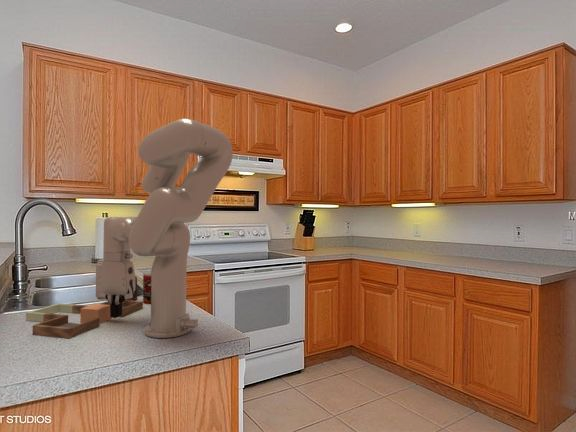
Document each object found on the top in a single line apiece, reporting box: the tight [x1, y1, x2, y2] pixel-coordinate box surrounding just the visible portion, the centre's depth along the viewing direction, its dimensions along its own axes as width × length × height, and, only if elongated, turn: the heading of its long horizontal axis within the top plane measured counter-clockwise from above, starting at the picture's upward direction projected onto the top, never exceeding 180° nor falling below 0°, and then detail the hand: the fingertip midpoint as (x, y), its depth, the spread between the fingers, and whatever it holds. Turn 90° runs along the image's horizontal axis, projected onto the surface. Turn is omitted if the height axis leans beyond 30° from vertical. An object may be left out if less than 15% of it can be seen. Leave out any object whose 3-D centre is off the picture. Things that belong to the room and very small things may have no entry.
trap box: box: [25, 300, 144, 339], centre depth 115 cm, size 26×32×2 cm
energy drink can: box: [95, 259, 107, 301], centre depth 143 cm, size 6×6×15 cm
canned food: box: [142, 271, 151, 305], centre depth 138 cm, size 8×8×11 cm
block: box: [79, 303, 112, 324], centre depth 113 cm, size 6×6×4 cm
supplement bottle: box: [126, 275, 138, 301], centre depth 141 cm, size 6×6×11 cm
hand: (116, 316), depth 112 cm, fingers closed
